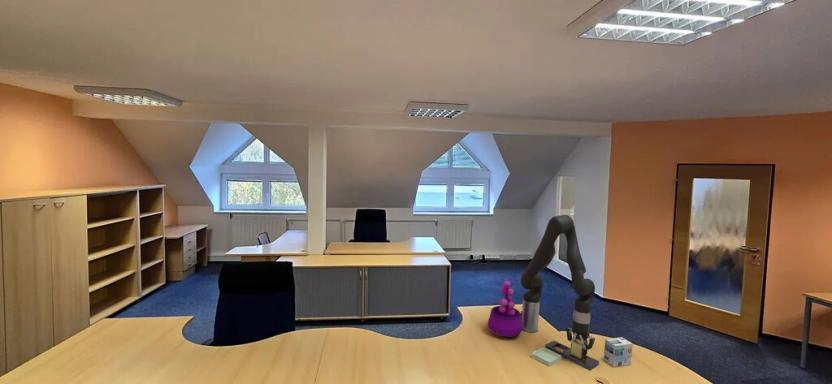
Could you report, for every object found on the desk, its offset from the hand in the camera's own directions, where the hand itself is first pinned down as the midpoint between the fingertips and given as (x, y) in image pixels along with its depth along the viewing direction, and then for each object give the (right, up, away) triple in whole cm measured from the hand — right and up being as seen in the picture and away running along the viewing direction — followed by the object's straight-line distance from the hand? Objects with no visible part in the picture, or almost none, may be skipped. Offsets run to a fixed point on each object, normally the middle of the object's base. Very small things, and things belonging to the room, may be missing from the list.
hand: (578, 352), depth 181 cm
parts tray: (-16, -3, +1) cm, 16 cm away
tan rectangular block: (0, -2, 0) cm, 2 cm away
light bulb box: (+18, -4, -1) cm, 19 cm away
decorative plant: (-30, 0, +26) cm, 40 cm away
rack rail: (-3, -3, +3) cm, 5 cm away
